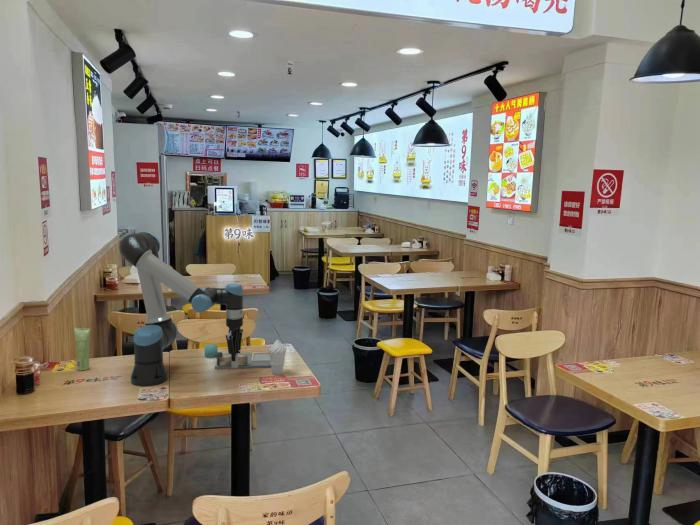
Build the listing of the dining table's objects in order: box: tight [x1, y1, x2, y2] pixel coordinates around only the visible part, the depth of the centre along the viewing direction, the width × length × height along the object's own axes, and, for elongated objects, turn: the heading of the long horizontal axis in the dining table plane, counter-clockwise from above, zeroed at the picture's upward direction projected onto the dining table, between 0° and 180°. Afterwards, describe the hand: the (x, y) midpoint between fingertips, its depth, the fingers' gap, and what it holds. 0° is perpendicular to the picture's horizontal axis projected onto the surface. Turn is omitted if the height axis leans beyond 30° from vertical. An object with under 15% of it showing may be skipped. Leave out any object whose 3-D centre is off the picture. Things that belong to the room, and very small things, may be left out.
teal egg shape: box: [204, 343, 219, 359], centre depth 263 cm, size 6×6×6 cm
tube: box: [73, 327, 91, 371], centre depth 239 cm, size 6×5×20 cm
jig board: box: [214, 351, 272, 370], centre depth 256 cm, size 30×20×2 cm, turn 99°
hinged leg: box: [216, 351, 248, 366], centre depth 247 cm, size 14×3×6 cm, turn 99°
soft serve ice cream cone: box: [267, 339, 287, 376], centre depth 240 cm, size 8×8×16 cm
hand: (234, 367), depth 240 cm, fingers closed
